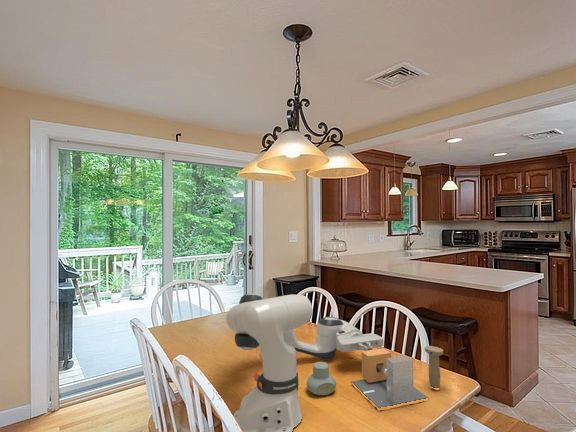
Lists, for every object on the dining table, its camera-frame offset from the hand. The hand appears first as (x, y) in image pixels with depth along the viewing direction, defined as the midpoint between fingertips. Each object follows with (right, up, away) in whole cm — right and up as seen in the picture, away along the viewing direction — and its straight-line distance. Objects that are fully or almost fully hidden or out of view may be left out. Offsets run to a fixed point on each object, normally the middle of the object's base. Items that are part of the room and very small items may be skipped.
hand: (369, 349), depth 134 cm
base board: (+4, -11, -12) cm, 17 cm away
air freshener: (-21, -12, -11) cm, 26 cm away
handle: (+22, -11, -10) cm, 27 cm away
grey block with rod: (+4, -10, -14) cm, 17 cm away
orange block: (+2, -9, -5) cm, 10 cm away
